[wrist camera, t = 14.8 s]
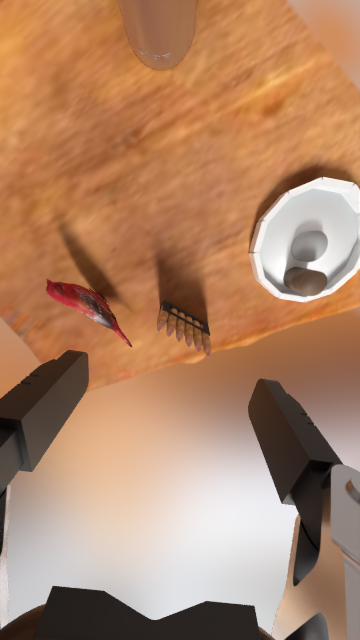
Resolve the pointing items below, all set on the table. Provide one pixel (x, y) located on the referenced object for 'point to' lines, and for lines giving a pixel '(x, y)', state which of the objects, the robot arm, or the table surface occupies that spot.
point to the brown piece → (305, 280)
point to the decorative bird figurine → (85, 304)
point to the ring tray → (309, 236)
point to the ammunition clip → (184, 327)
